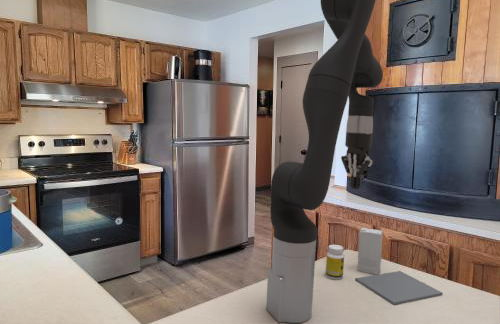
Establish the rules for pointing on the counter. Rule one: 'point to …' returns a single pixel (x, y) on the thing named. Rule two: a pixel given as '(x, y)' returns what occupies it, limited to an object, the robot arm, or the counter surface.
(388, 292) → the slate mat
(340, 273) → the supplement bottle
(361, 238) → the skincare box
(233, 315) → the counter surface
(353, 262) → the counter surface
